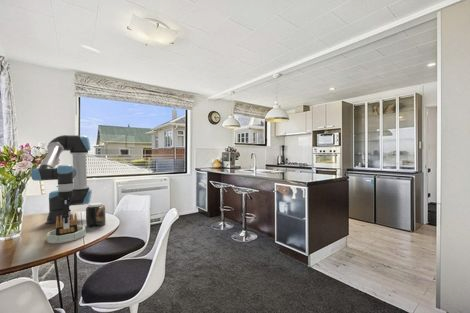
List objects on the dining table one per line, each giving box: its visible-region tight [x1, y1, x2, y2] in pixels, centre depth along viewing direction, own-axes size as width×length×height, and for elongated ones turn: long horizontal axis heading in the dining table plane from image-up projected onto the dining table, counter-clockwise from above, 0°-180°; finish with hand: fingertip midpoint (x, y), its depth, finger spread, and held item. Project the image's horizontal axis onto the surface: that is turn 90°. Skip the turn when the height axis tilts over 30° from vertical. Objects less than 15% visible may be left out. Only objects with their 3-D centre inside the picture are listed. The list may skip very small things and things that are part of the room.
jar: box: [85, 202, 107, 228], centre depth 160 cm, size 12×12×15 cm
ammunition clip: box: [55, 213, 78, 236], centre depth 137 cm, size 11×2×12 cm, turn 125°
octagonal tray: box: [46, 225, 87, 244], centre depth 137 cm, size 19×19×4 cm
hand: (66, 225), depth 137 cm, fingers open, 13 cm apart
